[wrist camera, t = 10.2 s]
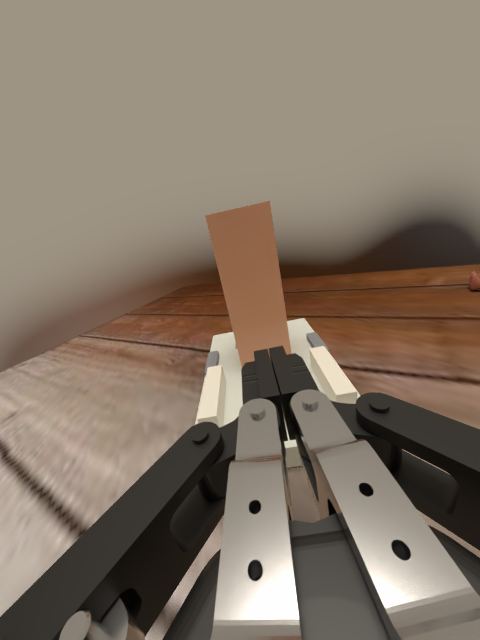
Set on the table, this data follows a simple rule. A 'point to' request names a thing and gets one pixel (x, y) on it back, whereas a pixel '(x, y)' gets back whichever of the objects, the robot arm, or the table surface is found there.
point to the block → (250, 278)
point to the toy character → (474, 281)
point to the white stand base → (226, 380)
